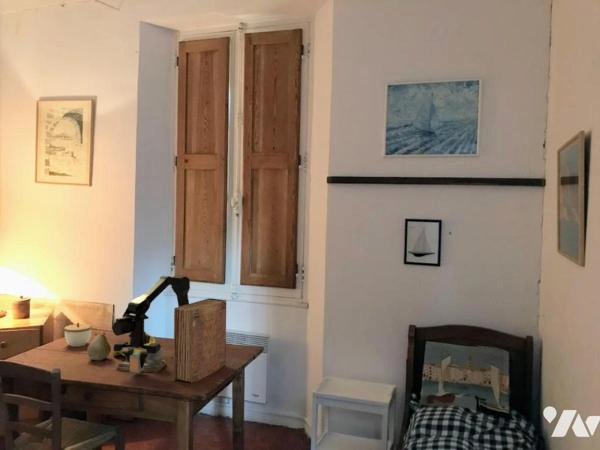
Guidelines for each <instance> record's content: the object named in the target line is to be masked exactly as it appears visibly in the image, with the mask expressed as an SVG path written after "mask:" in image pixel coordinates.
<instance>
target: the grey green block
mask: <svg viewBox="0 0 600 450" xmlns="http://www.w3.org/2000/svg"><path fill="white" fill-rule="evenodd" d="M143 369H144V366H143V368H141V363H140V352H135V353H133V354H132V355H130V371H129V373H138V374H139V373H140V372H141V371H142V370H143ZM141 373H142V372H141Z"/></svg>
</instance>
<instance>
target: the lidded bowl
mask: <svg viewBox="0 0 600 450" xmlns="http://www.w3.org/2000/svg"><path fill="white" fill-rule="evenodd" d="M63 329H64V339H65V341H66V342H67V344H68V345H70V347H78V348H79V347H82V346H85V345H87V343H88V342H89V341H90V339H91V336H92V325H91V324H88V323H80V322H76V323H75V324H69V325H66V326H64V328H63Z"/></svg>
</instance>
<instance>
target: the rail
mask: <svg viewBox="0 0 600 450" xmlns="http://www.w3.org/2000/svg"><path fill="white" fill-rule="evenodd" d="M117 365H118V366H117V367H116V370H117V371H123V372H124V371H127V372H130V364H129V362H128V360H127V358H126V357H125V361H124V362H118V363H117ZM165 366H167V361H166V360H164V359H163V348H161V350H160V351H158V352H157V353H149V354H148V355H147V357H146V360H145V363H144V369H143V370H142V371H141V373H142V372H143V373H154V374H155V373H158V372H159V371H161V370H162V369H163V368H164V367H165Z"/></svg>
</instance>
